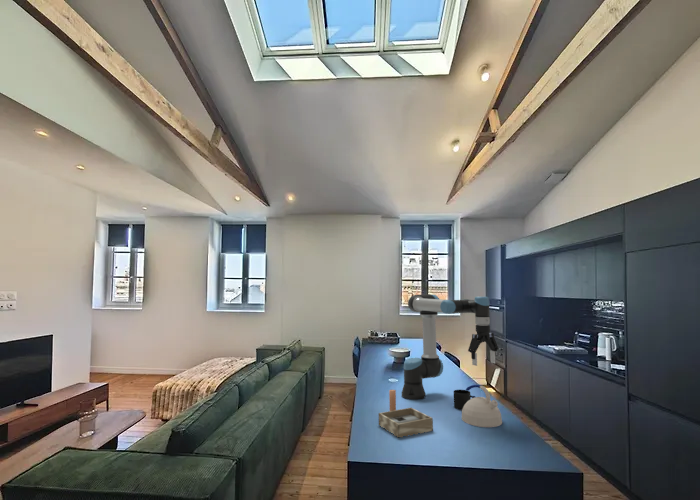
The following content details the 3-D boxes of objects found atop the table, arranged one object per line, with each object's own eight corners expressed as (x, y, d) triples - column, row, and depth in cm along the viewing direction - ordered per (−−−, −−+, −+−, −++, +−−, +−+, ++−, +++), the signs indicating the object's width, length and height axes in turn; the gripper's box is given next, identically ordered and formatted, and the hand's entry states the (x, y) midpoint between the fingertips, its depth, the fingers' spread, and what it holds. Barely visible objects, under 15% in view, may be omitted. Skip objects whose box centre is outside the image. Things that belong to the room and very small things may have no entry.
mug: (476, 411, 215) (476, 394, 215) (454, 409, 217) (454, 393, 218) (474, 405, 224) (473, 390, 225) (453, 404, 226) (452, 389, 227)
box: (378, 425, 192) (378, 413, 193) (411, 419, 201) (411, 407, 202) (398, 438, 176) (398, 424, 177) (432, 430, 185) (432, 417, 186)
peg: (388, 416, 205) (388, 390, 206) (393, 415, 207) (393, 389, 208) (391, 418, 202) (391, 391, 203) (397, 417, 204) (396, 390, 205)
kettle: (482, 430, 185) (481, 392, 187) (453, 417, 204) (452, 383, 206) (511, 423, 195) (510, 387, 197) (480, 412, 213) (479, 378, 215)
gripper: (470, 326, 201) (472, 367, 199) (504, 324, 212) (505, 363, 210) (460, 325, 208) (461, 364, 206) (493, 323, 219) (494, 360, 217)
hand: (483, 364), depth 208 cm, fingers open, 13 cm apart
